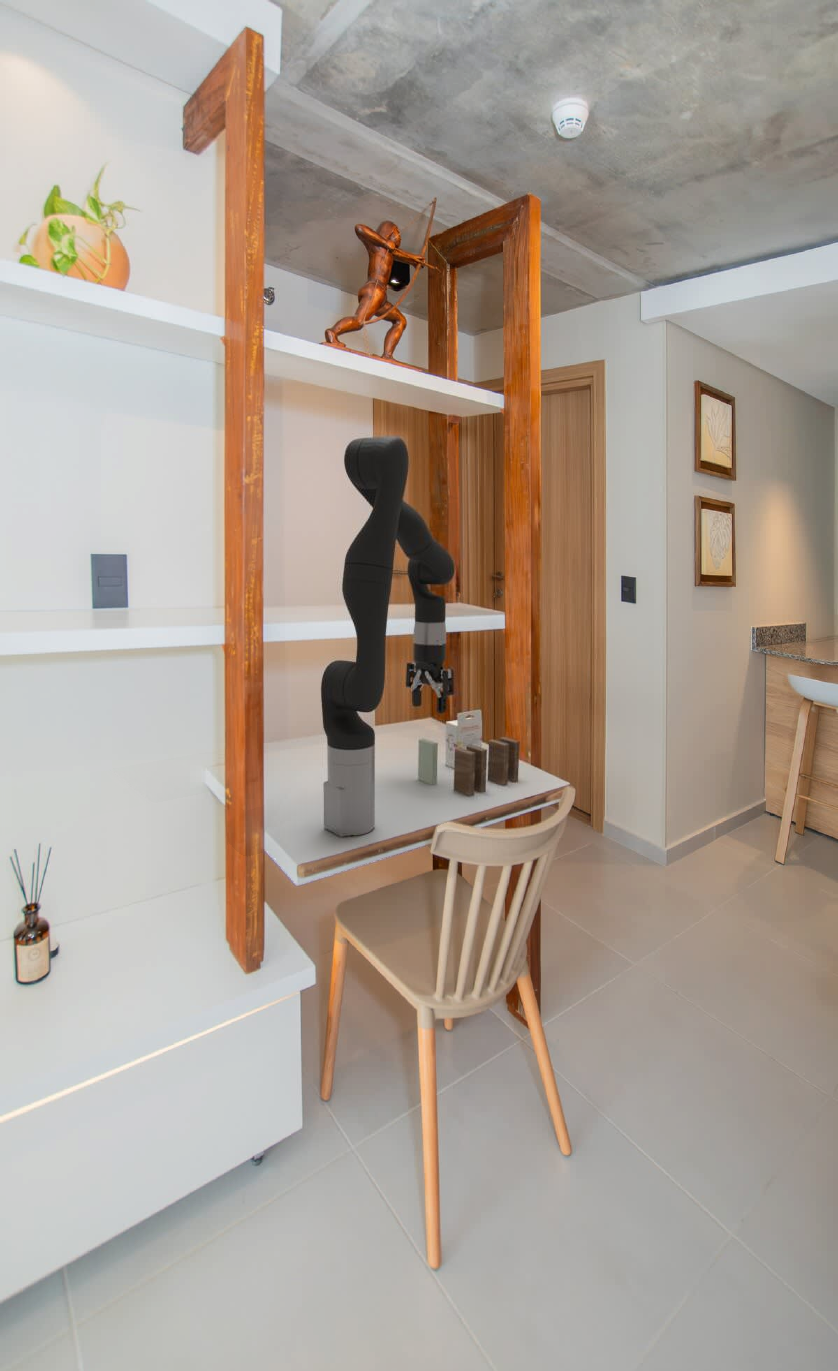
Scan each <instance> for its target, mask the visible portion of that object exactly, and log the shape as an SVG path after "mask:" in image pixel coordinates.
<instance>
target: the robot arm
mask: <svg viewBox="0 0 838 1371" xmlns="http://www.w3.org/2000/svg"><path fill="white" fill-rule="evenodd" d="M343 456H344V457H343V462H344V469H345V472H346V475H347V477H348V479H349V481H350V482H351V484H352V485H353V486H354V487H355V489H356V490H357V491H358V493H359V494H360V495H361V496H362V497H363V498H364V499H365V501H366V502H367V503H368V504H369V505H370V507H371V508H372V510H371V513H370V515H369V516H368V518H367V520H366V521H365V523H364V525H363V526H362V527H361V529H360V530H359V532H358V533H357V534H356V536H355V537H354V539H353V541H352V542H351V544H350V546H349V548H348V549H347V551H346V553H345V554H346V555H345V557H344V565H343V574H342V584H341V585H342V586H341V589H342V590H341V591H342V596H343V600H344V603H345V605H346V608H347V611H348V614H349V616H350V619H351V621H352V624H353V627H354V630H355V634H356V655H355V657H356V658H355V661H351V660H343V659H341V660H340V659H339V660H334V661H332V662H330V663H329V664H328V665H327V666H326V668H325V670H324V671H323V675H322V678H321V684H320V699H321V700H320V701H321V702H320V703H321V714H322V728H323V731H324V733H325V736H326V743H327V744H326V746H327V747H326V749H327V752H326V753H327V755H326V756H327V757H326V758H327V781H324V782H323V784H322V785H323V787H322V788H323V828H324V829H326V830H328V831H330V832H332V833H333V834H335V835H336V836H338V837H340V838H343V837H351V835H354V836H360V835H365V834H368V833H371V830H372V829H373V828H374V829H375V827H374V826H376V822H375V821H376V815H375V814H376V802H375V801H376V782H375V781H376V779H375V778H376V775H375V774H376V771H375V770H376V765H375V764H376V760H375V759H376V756H375V755H376V746H375V745H376V742H375V741H376V737H375V736H376V734H375V730H374V728H373V727H372V726H371V725H369V724H368V723H367V722H365V720H364V719H362V717H361V716H360V715H359V713H371V712H374V711H375V710H376V709H377V708H378V707H379V705H380V704H381V700H382V698H383V694H384V688H385V682H386V680H385V679H386V645H387V644H386V640H387V639H386V637H387V628H388V626H387V625H388V624H387V623H388V615H389V605H390V604H389V603H390V597H391V591H392V582H393V575H394V574H393V573H394V566H395V565H394V563H395V562H394V561H395V552H396V544H398V545H399V547H400V549H401V550H402V552H403V553H404V555H405V557H407V558H408V559H409V560H408V563H407V577H408V580H409V584H410V588H411V592H412V597H413V602H414V626H413V627H414V628H413V650H412V651H413V652H412V653H413V659H412V660H413V661H414V662H406V674H405V687H406V688H410V691H411V703H412V706H413V707H415V708H417V707H421V706H422V694H423V693H422V688H423V687H424V685H428V686H430V687H431V689H432V690H433V691H434V692H435V694H436V696H437V697H436V713H437V714H444V713H446V711H447V704H448V703H447V700H448V697H450V696H453V695H454V694H455V680H454V678H455V677H454V670H453V668H448V669H445V667H444V663H445V662H446V660H447V659H446V658H447V627H446V608H447V606H446V600H445V598H444V597H443V596H441V595H438V594H434V593H432V592H431V591H430V589H429V586H428V585H435V586H438V585H439V586H441V585H442V586H444V585H447V584H449V583H450V582H451V581H452V579H453V578H454V575H455V571H456V570H455V563H454V560H453V558H452V556H451V555H450V553H449V552H448V551H447V549H445V547H443V546H442V545H441V543H439V542H438V541H437V540H436V539H435V538H434V537H433V536H432V533H431V531H430V529H429V526H427V525H428V524H427V523H426V521H425V520H424V518H423V516H422V515H421V514H420V513H419V512H418V511H417V510H416V509H415V508H414V507H413V506H411V505H410V504H409V503H407V502H406V501H405V500H404V497H405V491H406V485H407V481H408V475H409V463H410V460H409V459H410V458H409V452H408V448H407V444H406V442H405V441H404V440H403V439H402V438H401V437H398V436H391V435H390V436H386V435H385V436H375V437H360V438H356V439H353V440H351V441H350V442H349V443H348V444H347V446H346V448H345V452H344V455H343ZM396 542H397V543H396ZM358 712H359V713H358ZM374 829H373V830H374ZM373 830H372V831H373Z"/></svg>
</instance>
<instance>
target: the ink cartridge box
mask: <svg viewBox="0 0 838 1371" xmlns="http://www.w3.org/2000/svg"><path fill="white" fill-rule="evenodd" d="M469 715H470V716H472V717H469ZM482 715H483V714H482V710H481V709H477V710H470V711H465V712H458V713H457V714H456V718H457V719H456V720H450V721H446V722H445V765H446V767H447V766H448V767H449V768H452V769H454V761H455V749H457V748H462V749H465V750H466V749H467V746H469V745H474V746H477V747H480V748H483V746H482V744H483V743H482V742H483V718H482ZM467 717H468V718H467Z"/></svg>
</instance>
